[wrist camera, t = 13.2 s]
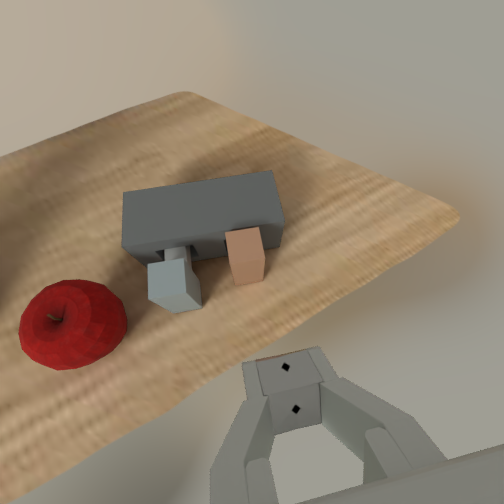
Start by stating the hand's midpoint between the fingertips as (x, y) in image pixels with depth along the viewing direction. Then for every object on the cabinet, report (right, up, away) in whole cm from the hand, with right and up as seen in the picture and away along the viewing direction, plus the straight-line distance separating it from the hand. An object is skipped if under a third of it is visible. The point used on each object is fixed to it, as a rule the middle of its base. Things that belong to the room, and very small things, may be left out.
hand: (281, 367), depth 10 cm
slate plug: (-11, +1, +27) cm, 29 cm away
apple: (-21, -6, +25) cm, 33 cm away
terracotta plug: (-2, +4, +29) cm, 29 cm away
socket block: (-7, +7, +30) cm, 32 cm away
